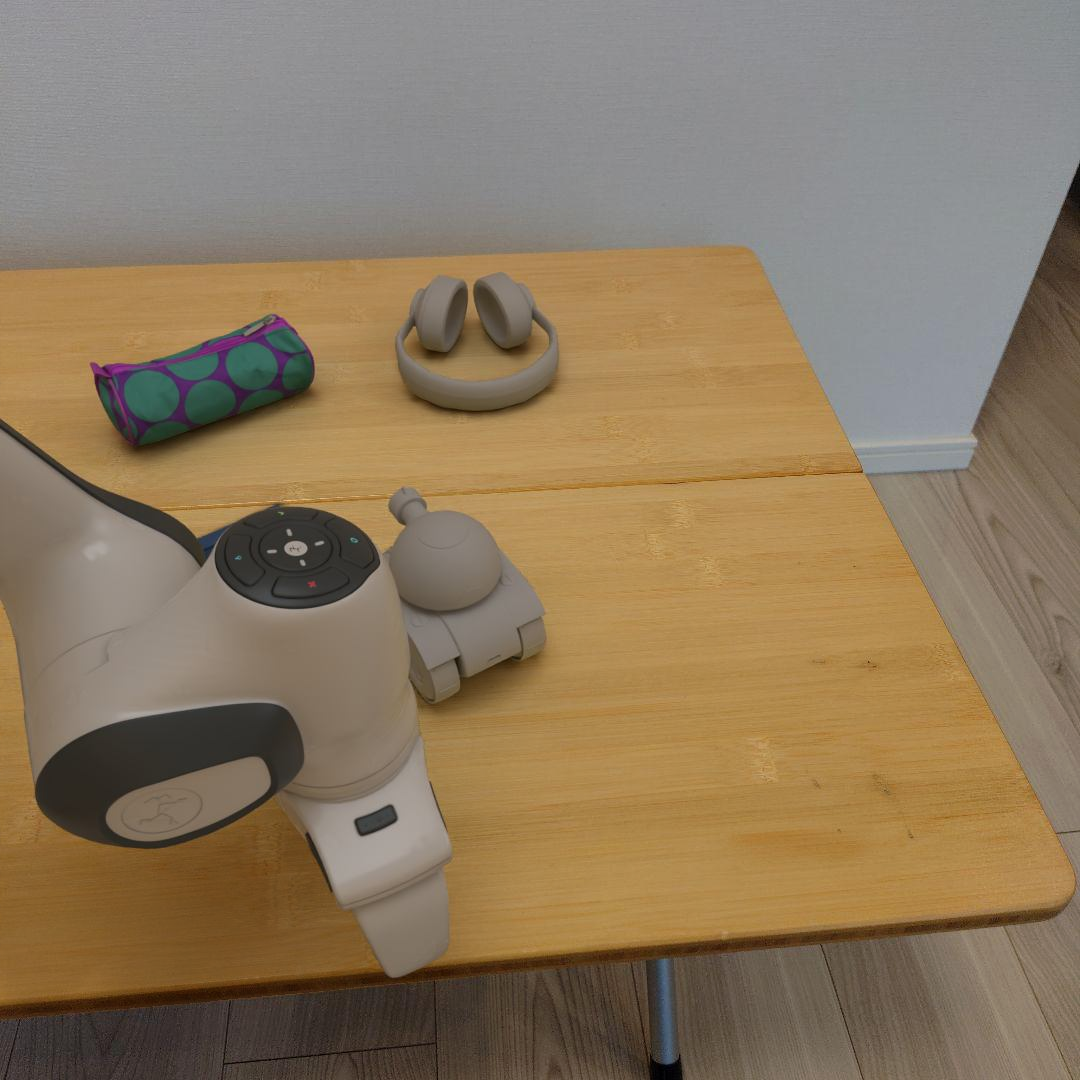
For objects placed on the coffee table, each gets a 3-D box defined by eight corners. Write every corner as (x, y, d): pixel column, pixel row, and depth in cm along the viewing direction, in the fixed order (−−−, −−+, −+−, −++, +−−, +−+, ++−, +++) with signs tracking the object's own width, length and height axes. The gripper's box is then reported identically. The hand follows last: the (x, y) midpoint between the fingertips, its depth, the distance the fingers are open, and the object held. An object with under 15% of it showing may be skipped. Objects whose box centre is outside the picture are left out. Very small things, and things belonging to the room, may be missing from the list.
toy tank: (356, 604, 83) (336, 493, 74) (461, 558, 87) (454, 448, 78) (437, 725, 74) (426, 617, 65) (550, 668, 78) (554, 559, 69)
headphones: (395, 315, 116) (401, 433, 104) (389, 261, 110) (394, 380, 97) (544, 307, 118) (567, 422, 106) (546, 254, 111) (571, 369, 99)
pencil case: (287, 363, 109) (272, 288, 103) (323, 400, 104) (309, 324, 98) (107, 427, 100) (77, 350, 94) (136, 471, 95) (107, 393, 89)
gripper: (240, 637, 59) (280, 759, 69) (347, 929, 46) (378, 1029, 56) (338, 603, 61) (363, 727, 71) (466, 874, 48) (476, 979, 58)
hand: (370, 862), depth 63 cm, fingers closed
